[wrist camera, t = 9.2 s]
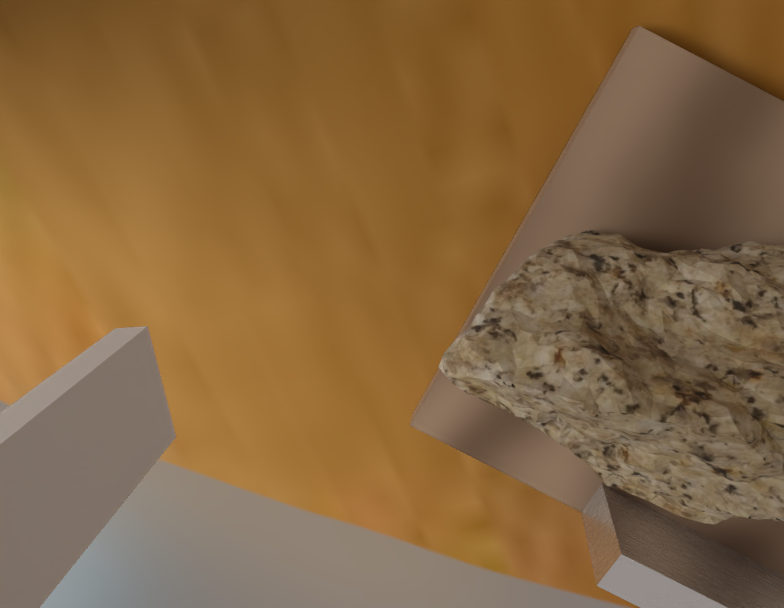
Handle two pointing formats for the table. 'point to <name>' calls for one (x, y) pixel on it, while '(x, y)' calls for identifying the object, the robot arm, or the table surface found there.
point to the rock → (644, 367)
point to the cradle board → (637, 237)
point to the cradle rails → (669, 560)
